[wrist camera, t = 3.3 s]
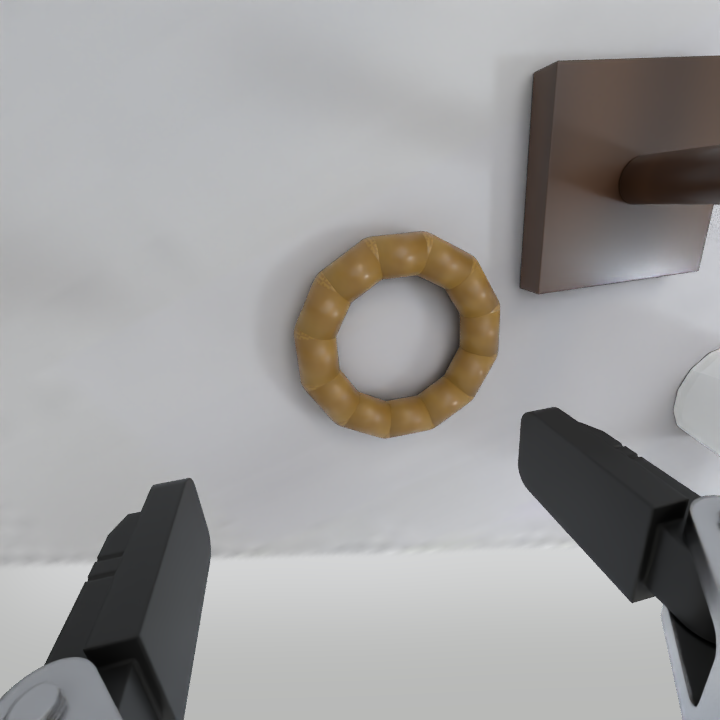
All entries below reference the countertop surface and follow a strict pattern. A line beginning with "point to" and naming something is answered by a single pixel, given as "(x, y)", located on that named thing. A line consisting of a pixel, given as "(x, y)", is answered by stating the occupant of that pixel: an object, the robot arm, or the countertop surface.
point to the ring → (355, 278)
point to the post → (620, 170)
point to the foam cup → (701, 402)
